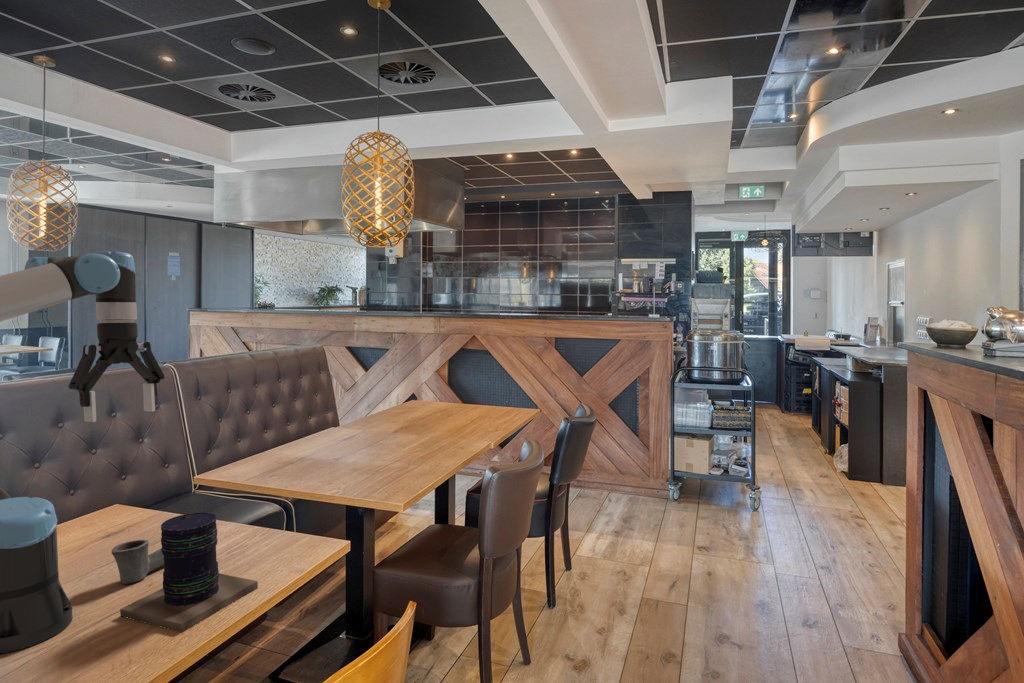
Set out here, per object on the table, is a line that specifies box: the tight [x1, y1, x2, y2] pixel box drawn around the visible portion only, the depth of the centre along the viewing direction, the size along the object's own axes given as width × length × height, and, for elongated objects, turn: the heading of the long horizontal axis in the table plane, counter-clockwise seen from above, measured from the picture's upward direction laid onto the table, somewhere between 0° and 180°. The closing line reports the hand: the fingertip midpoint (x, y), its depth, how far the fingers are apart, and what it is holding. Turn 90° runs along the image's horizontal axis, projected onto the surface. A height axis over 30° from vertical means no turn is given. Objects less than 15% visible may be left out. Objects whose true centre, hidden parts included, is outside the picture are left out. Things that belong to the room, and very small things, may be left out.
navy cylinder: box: [160, 512, 220, 606], centre depth 117 cm, size 10×10×15 cm
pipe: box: [111, 539, 164, 585], centre depth 129 cm, size 6×13×8 cm, turn 161°
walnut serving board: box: [119, 573, 259, 633], centre depth 117 cm, size 18×16×2 cm
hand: (121, 416), depth 132 cm, fingers open, 13 cm apart
